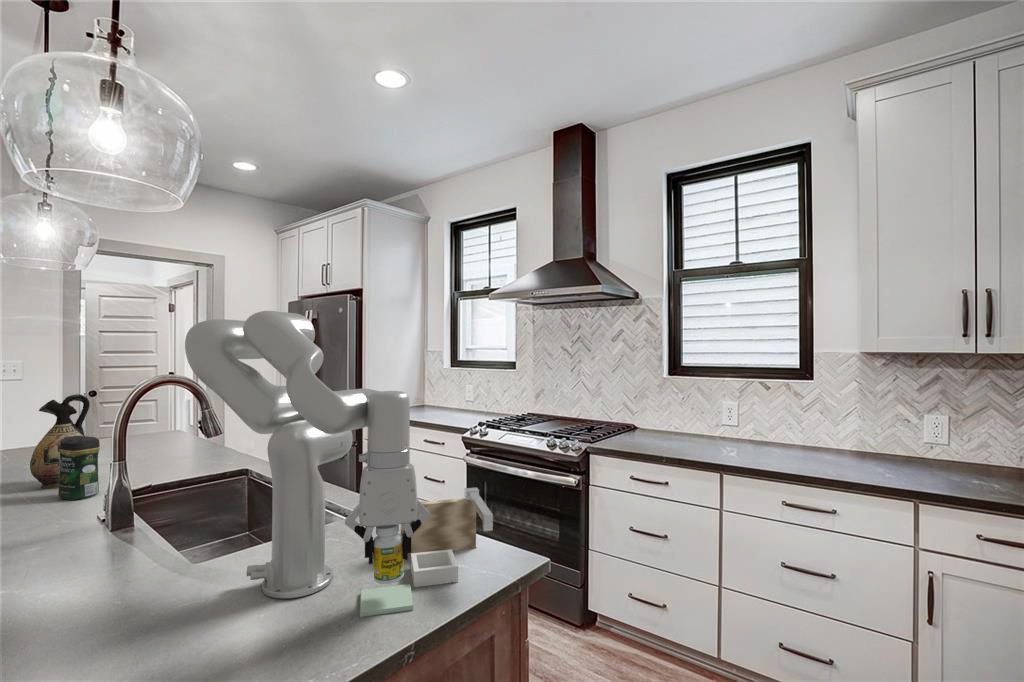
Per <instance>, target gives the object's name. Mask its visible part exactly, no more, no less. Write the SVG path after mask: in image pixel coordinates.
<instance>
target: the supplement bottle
mask: <svg viewBox="0 0 1024 682" xmlns="http://www.w3.org/2000/svg"><path fill="white" fill-rule="evenodd" d="M399 525H400V524H399ZM399 525H388V526H378V527H375V534H376V535H377V536H375V537H373V563H372V564H373V579H374V582H376V583H377V584H381V585H389V584H394V583H397V582H399V581H400V580H401V579H403V578H404V575H405V559H403V537H402V536H401V533H400V532H399V531H400V529H399V528H400V527H399Z"/></svg>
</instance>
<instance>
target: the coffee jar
mask: <svg viewBox="0 0 1024 682" xmlns="http://www.w3.org/2000/svg"><path fill="white" fill-rule="evenodd" d="M100 443H101V442H100V439H99V438H97V437H95V436H87V435H85V436H71V437H65V438H64V439H63V440H62V441H61V443H60V449H59V450H60V459H61V463H60V480H59V488H58V498H60V499H63V500H69V501H70V500H71V501H76V500H84V499H89V498H92V497H94V496H96V495H98V494H99V492H100V491H99V452H100V448H101V447H100Z"/></svg>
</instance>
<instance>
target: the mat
mask: <svg viewBox="0 0 1024 682" xmlns="http://www.w3.org/2000/svg"><path fill="white" fill-rule="evenodd" d="M360 591H361V592H360V603H359V604H360V606H359V609H360V610H359V618H362V617H369V616H377V615H384V614H391V613H398V612H399V613H400V612H406V611H414V601H413V594H412V587H411V583H408V584H398V585H391V586H382V587H376V588H375V587H374V588H366V589H361V590H360Z"/></svg>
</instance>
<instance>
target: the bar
mask: <svg viewBox="0 0 1024 682" xmlns="http://www.w3.org/2000/svg"><path fill="white" fill-rule="evenodd" d="M463 495H464V498H465V499H466V500H470V502H471V503H472V505H473V506H474V508H475V510H476V514H478V516H479V517H480V520H481V521H482V531H483V532H491V531H492V532H493V530H494V529H493V526H494V522H493V521H494V514H493V512H492V511H491V510H490V508H489V507H488V506H487V504H486V502H485V501H484V500H483V498H482V497H481V495H480V489H479V488H478V487H467V488H464V494H463Z"/></svg>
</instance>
